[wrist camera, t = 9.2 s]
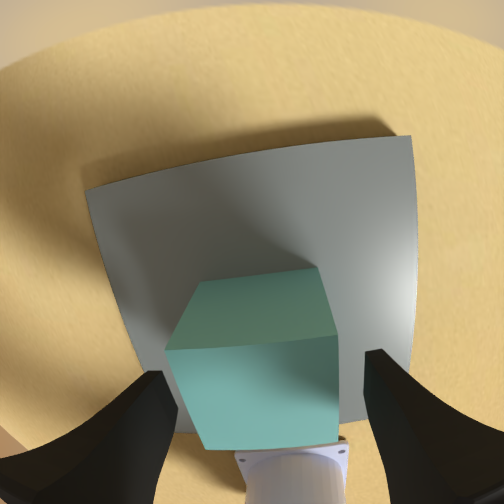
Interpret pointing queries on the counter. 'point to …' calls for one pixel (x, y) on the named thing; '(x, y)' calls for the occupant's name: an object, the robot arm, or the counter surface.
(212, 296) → the cube
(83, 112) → the counter surface
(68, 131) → the counter surface
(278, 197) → the cutting board
